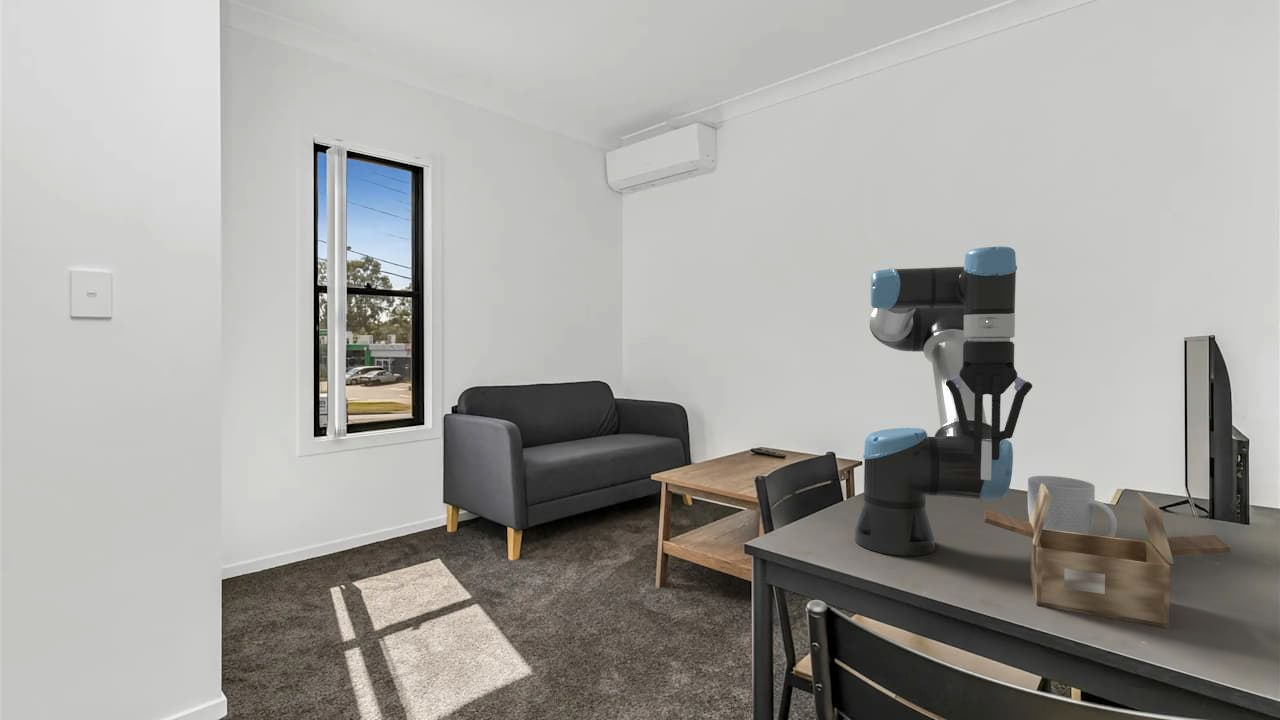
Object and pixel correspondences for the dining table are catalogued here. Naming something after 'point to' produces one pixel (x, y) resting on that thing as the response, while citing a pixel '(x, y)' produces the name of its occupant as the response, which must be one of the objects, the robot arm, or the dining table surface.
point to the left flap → (1022, 527)
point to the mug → (1069, 504)
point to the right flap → (1176, 544)
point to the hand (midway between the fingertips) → (985, 478)
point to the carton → (1101, 577)
